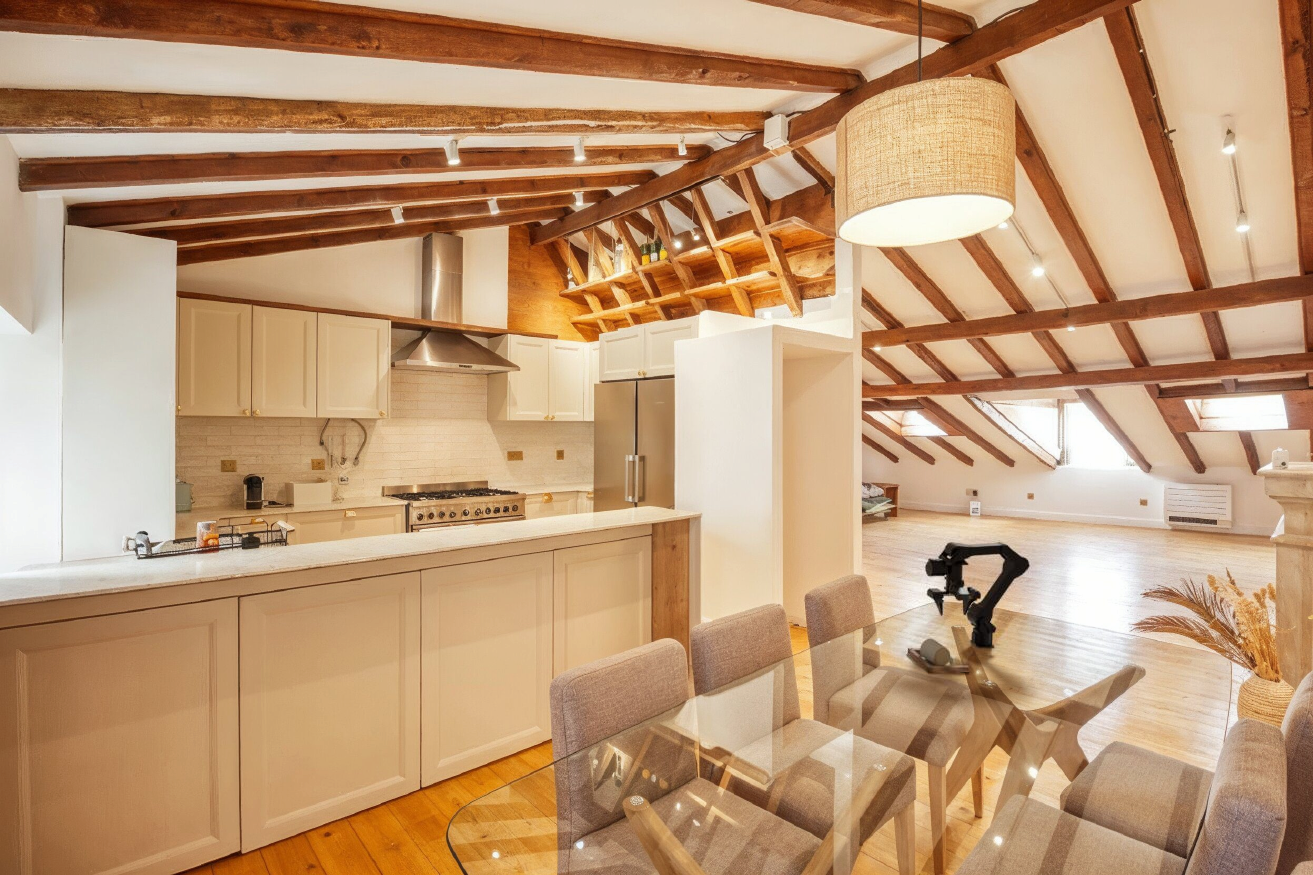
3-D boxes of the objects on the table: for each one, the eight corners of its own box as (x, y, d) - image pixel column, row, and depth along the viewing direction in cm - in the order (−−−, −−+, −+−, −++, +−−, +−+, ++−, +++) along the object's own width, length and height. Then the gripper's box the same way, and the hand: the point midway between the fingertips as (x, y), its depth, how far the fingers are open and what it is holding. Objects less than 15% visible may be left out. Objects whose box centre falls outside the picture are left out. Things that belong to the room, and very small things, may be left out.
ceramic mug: (934, 668, 226) (935, 647, 226) (919, 659, 234) (920, 639, 233) (959, 665, 229) (960, 644, 229) (942, 656, 237) (943, 636, 236)
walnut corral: (945, 652, 240) (945, 647, 240) (969, 672, 223) (969, 666, 223) (907, 653, 239) (907, 648, 239) (928, 673, 222) (928, 667, 222)
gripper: (940, 582, 236) (939, 623, 237) (989, 581, 237) (988, 622, 238) (926, 573, 247) (925, 612, 248) (973, 573, 248) (972, 611, 249)
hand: (953, 615), depth 246 cm, fingers open, 9 cm apart
